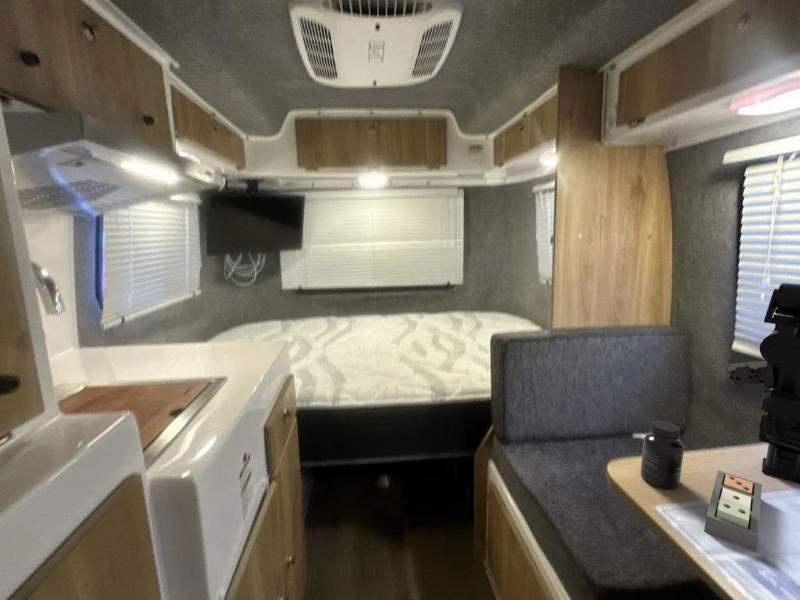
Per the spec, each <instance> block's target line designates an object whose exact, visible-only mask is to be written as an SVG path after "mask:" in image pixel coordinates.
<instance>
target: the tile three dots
mask: <svg viewBox="0 0 800 600" xmlns="http://www.w3.org/2000/svg"><path fill="white" fill-rule="evenodd" d="M724 486H726V487H729V488H732V489H735V490H738V491H741V492H744V493H747V494H749V495H752V487H753V482H749V481H746V480H743V479H740V478H737V477H734V476H731V475H727V474H726V477H725V481H724Z"/></svg>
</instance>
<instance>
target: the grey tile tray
mask: <svg viewBox="0 0 800 600" xmlns="http://www.w3.org/2000/svg"><path fill="white" fill-rule="evenodd" d="M726 474H727V475H731V476H734V477H737V478H740V479H743V480H746V481H749V482H753V487H752V495H749V494H747V493H744V492H741V491H738V490H735V489H732V488H729V487H726V486H724V481H725V477H726ZM723 488H726V489H729V490H732V491H734V492H737V493H740V494H743V495H746V496H749V497H751V504H750V515H749V523H748V529H746V528H744V527H741V526H738V525H736V524H733V523H731V522H728V521H725V520H723V519H720V518H717V511H718V506H719V502H720V498H721V494H722V490H723ZM762 490H763V484H762V483H759V482H757V481H753V480H750V479H747V478H743V477H740V476H737V475H735V474H731V473H729V472H724V471H723V470H722V471H721V470H717V474H716V477H715V480H714V484H713V489H712V492H711V496H710V500H709V504H708V508H707V512H706V515H705V516H706V517H705V523H704V532H706V533H708V534H711V535H713V536H716V537H718V538H721V539H722V540H725V541H727V542H731V543H732V544H735V545H738V546H741V547H742V548H744V549H745V548H746V549H747V550H749V551H753V552H756V548H757V545H758V544H757V543H758V539H759V537H758V536H759V527H760V525H759V524H760V514H761V502H762Z"/></svg>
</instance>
